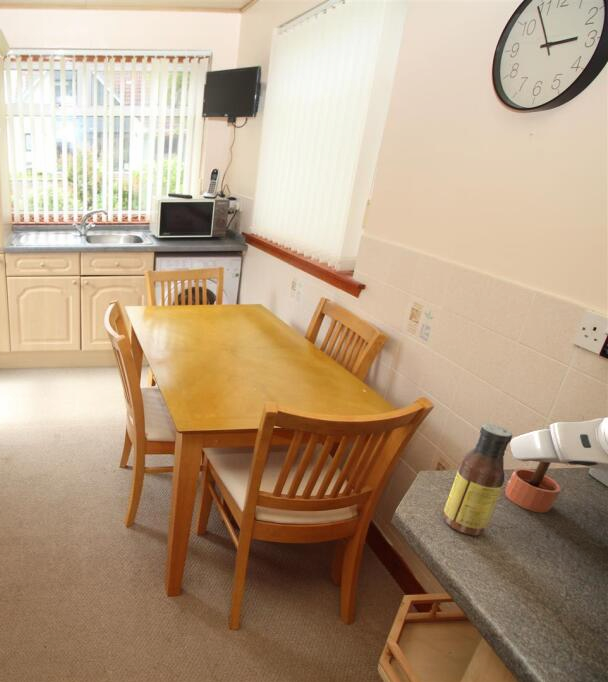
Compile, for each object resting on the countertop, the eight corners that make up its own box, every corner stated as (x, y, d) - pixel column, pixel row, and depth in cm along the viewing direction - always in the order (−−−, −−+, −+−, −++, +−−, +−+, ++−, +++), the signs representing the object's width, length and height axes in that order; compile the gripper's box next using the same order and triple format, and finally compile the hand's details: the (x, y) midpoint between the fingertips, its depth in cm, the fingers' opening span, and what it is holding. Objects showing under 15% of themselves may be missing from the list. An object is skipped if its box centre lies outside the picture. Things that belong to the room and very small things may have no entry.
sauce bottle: (490, 532, 84) (535, 438, 77) (468, 541, 82) (511, 445, 74) (453, 508, 90) (491, 417, 82) (431, 515, 88) (468, 423, 80)
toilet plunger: (527, 490, 94) (560, 422, 88) (545, 503, 91) (580, 433, 85) (511, 491, 94) (543, 423, 88) (528, 503, 91) (563, 433, 85)
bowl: (525, 488, 96) (535, 467, 94) (560, 512, 90) (571, 491, 88) (494, 489, 96) (504, 468, 94) (527, 514, 89) (538, 492, 87)
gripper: (676, 430, 78) (595, 446, 90) (546, 421, 79) (484, 437, 91) (691, 470, 75) (606, 480, 88) (557, 459, 76) (492, 471, 89)
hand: (543, 458), depth 90 cm, fingers open, 7 cm apart
